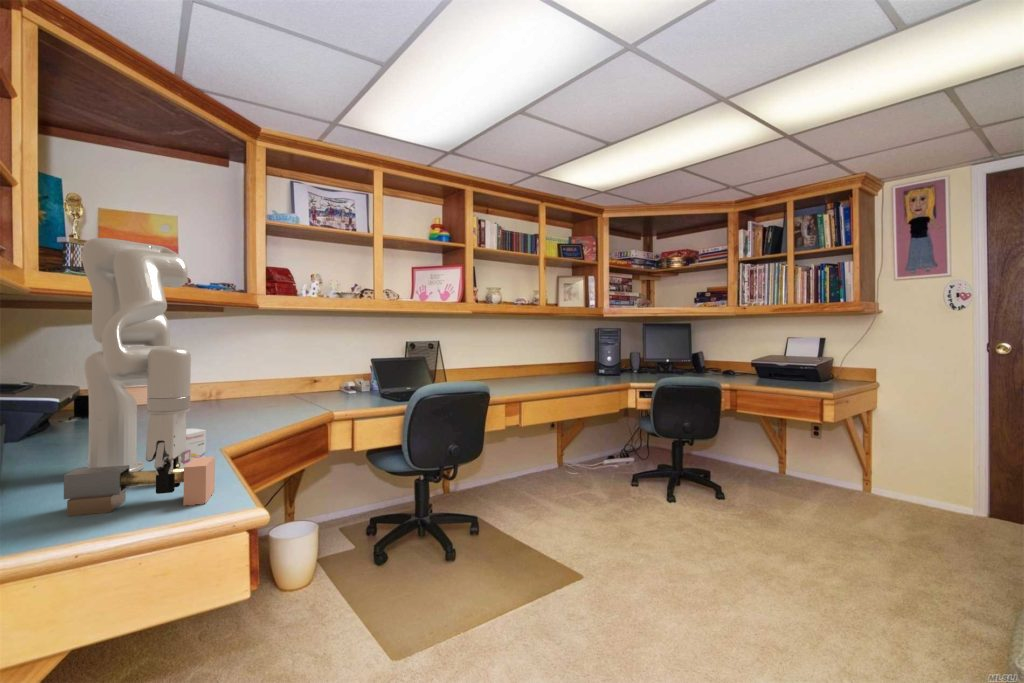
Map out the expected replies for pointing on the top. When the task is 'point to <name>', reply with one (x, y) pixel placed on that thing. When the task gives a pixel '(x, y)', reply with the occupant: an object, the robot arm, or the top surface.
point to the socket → (199, 480)
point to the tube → (147, 477)
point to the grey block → (94, 490)
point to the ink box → (193, 446)
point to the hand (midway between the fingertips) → (168, 489)
